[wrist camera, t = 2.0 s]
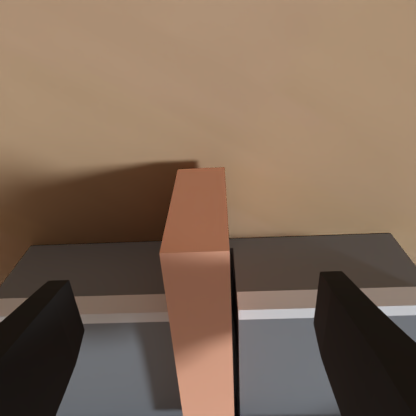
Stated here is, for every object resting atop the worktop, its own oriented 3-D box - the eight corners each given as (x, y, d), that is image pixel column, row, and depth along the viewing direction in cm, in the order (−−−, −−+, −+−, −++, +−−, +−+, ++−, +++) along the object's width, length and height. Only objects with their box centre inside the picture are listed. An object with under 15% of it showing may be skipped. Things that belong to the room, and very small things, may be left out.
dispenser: (392, 224, 18) (541, 410, 10) (353, 394, 25) (422, 589, 17) (28, 237, 19) (-118, 420, 11) (85, 399, 26) (23, 588, 17)
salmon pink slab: (224, 167, 15) (229, 250, 10) (229, 332, 20) (235, 445, 15) (177, 169, 16) (159, 253, 10) (194, 333, 20) (187, 446, 15)
